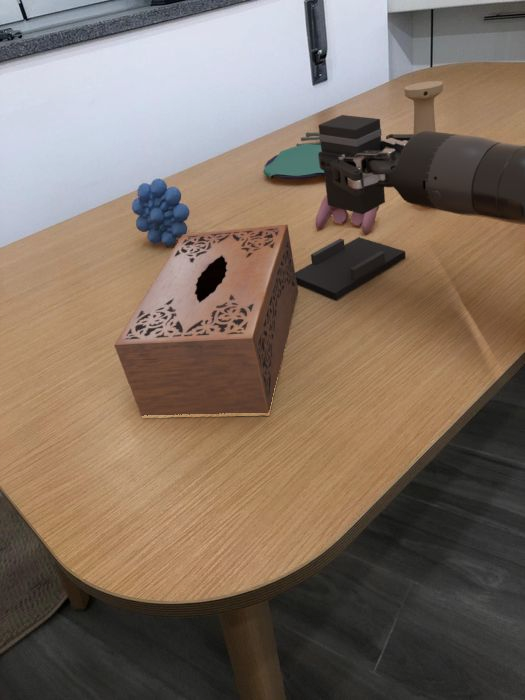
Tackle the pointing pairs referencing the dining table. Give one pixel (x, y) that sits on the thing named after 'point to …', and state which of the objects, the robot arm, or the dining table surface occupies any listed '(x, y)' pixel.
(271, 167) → the cutlery set
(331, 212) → the video game controller
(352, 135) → the upright box
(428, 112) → the handle
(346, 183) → the robot arm
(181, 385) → the tissue box cover
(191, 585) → the dining table surface
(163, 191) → the grapes
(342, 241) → the base pad
